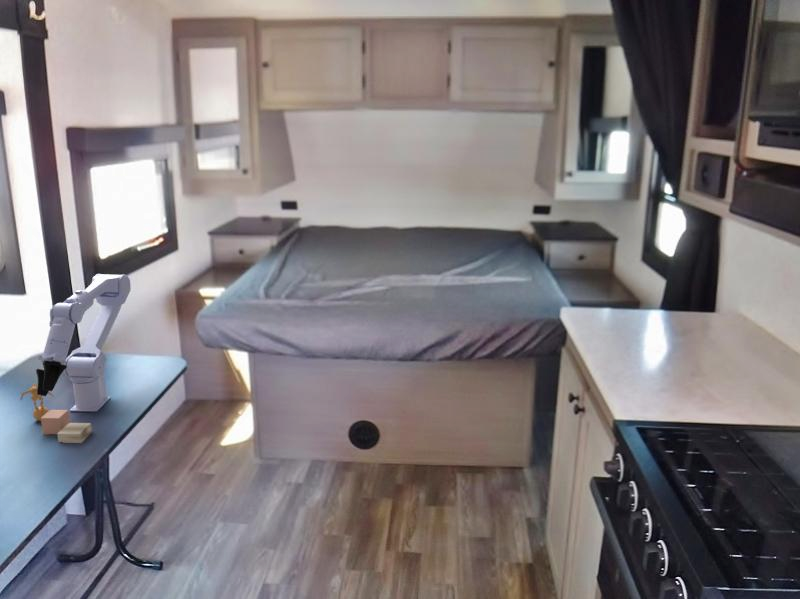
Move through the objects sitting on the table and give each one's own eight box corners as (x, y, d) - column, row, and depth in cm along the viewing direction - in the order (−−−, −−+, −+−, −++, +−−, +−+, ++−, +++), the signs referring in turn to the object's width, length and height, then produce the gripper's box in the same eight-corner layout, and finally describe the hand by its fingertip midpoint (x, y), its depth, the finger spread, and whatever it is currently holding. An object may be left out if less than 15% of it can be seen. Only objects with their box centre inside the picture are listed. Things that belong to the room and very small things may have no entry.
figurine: (59, 414, 183) (53, 376, 179) (55, 424, 177) (49, 384, 174) (27, 418, 180) (20, 380, 177) (22, 428, 175) (15, 388, 171)
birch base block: (70, 432, 173) (68, 422, 172) (92, 433, 173) (90, 423, 172) (58, 443, 168) (57, 433, 167) (81, 443, 167) (79, 433, 167)
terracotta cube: (52, 426, 176) (50, 409, 175) (70, 426, 177) (68, 409, 175) (43, 434, 172) (40, 418, 170) (61, 434, 172) (59, 418, 170)
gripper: (36, 346, 175) (22, 394, 170) (47, 334, 164) (32, 384, 159) (64, 352, 179) (51, 399, 174) (76, 340, 168) (63, 390, 163)
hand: (44, 392), depth 167 cm, fingers open, 7 cm apart
